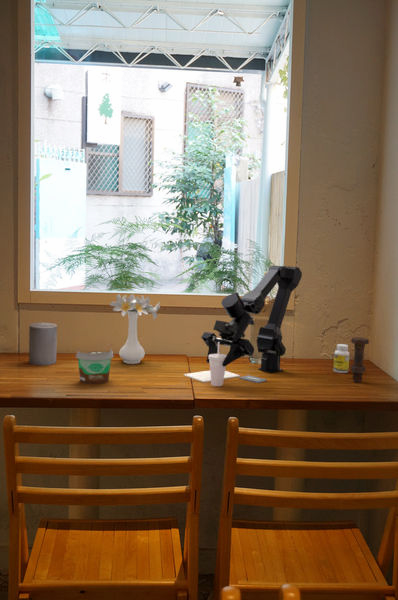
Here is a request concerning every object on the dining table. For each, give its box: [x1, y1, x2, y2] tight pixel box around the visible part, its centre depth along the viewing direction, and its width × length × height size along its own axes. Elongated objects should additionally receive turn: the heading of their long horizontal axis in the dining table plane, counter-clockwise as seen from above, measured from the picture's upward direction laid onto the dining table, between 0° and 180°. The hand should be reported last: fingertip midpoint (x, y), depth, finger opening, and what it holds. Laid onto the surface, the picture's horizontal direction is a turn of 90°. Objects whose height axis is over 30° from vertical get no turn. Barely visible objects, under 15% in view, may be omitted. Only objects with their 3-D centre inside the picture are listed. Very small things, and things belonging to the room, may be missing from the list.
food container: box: [75, 348, 114, 385], centre depth 211 cm, size 12×6×10 cm, turn 117°
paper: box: [183, 369, 241, 383], centre depth 226 cm, size 16×11×1 cm
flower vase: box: [109, 293, 161, 365], centre depth 241 cm, size 13×18×25 cm
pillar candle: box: [28, 322, 58, 366], centre depth 236 cm, size 10×10×15 cm
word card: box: [238, 374, 268, 384], centre depth 223 cm, size 5×8×1 cm, turn 48°
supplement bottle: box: [332, 343, 350, 374], centre depth 240 cm, size 5×5×10 cm
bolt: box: [350, 337, 370, 383], centre depth 225 cm, size 6×5×15 cm
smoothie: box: [208, 342, 227, 387], centre depth 214 cm, size 6×6×14 cm
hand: (215, 364), depth 212 cm, fingers closed on smoothie, 6 cm apart
